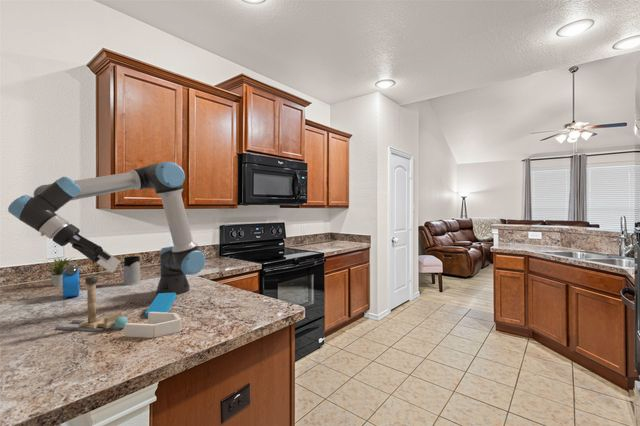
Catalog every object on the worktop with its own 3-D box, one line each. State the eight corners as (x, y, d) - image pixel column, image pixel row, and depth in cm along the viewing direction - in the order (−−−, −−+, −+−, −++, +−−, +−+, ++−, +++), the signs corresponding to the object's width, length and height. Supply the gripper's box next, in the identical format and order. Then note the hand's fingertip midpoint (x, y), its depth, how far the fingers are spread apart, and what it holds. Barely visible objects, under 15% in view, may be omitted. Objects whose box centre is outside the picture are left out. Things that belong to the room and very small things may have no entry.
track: (55, 329, 106) (55, 327, 106) (73, 322, 113) (73, 319, 113) (101, 331, 104) (101, 329, 104) (117, 324, 111) (117, 321, 111)
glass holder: (131, 285, 168) (130, 258, 168) (112, 283, 173) (112, 257, 173) (144, 282, 177) (144, 256, 177) (126, 280, 181) (126, 255, 181)
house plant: (84, 282, 178) (84, 254, 178) (62, 288, 164) (61, 257, 164) (62, 281, 179) (61, 254, 179) (38, 287, 165) (37, 257, 165)
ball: (127, 325, 110) (127, 314, 110) (128, 328, 107) (128, 317, 107) (114, 327, 107) (113, 316, 107) (114, 331, 104) (114, 319, 104)
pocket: (124, 336, 100) (124, 324, 100) (150, 322, 112) (150, 311, 112) (169, 338, 98) (169, 326, 98) (190, 324, 110) (190, 313, 110)
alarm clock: (64, 294, 151) (63, 264, 151) (79, 292, 155) (79, 263, 155) (62, 300, 141) (62, 268, 140) (79, 298, 144) (79, 266, 144)
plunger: (76, 329, 106) (75, 279, 106) (92, 322, 112) (91, 275, 112) (107, 331, 104) (106, 280, 104) (121, 324, 110) (121, 276, 110)
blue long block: (166, 327, 120) (179, 302, 137) (164, 312, 118) (178, 288, 135) (147, 328, 119) (163, 302, 136) (145, 313, 117) (161, 288, 134)
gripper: (53, 246, 113) (106, 279, 120) (47, 231, 94) (110, 271, 101) (71, 231, 117) (121, 264, 124) (69, 213, 98) (127, 253, 105)
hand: (116, 267), depth 112 cm, fingers open, 13 cm apart
